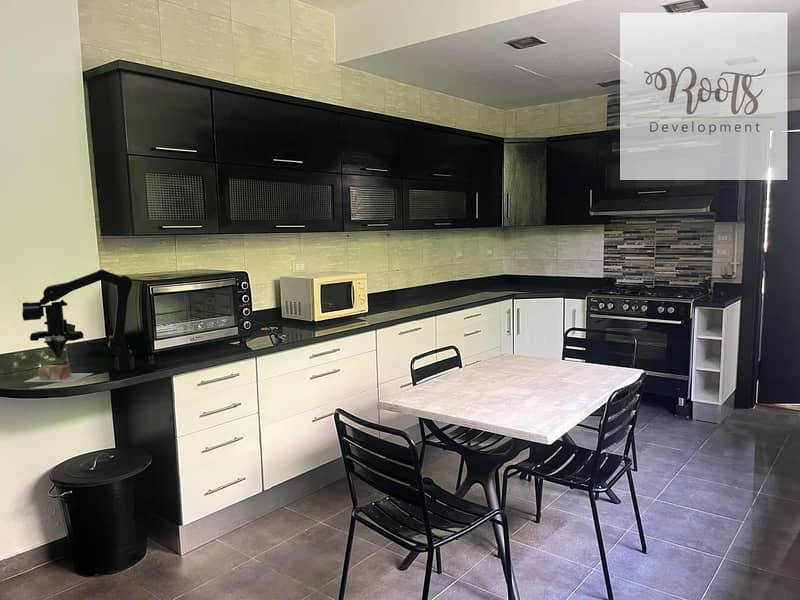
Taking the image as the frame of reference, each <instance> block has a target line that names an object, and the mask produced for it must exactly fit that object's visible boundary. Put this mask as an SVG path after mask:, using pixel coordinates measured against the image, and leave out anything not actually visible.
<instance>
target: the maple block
mask: <svg viewBox="0 0 800 600" xmlns="http://www.w3.org/2000/svg"><path fill="white" fill-rule="evenodd" d="M71 373H72V372H71V365H67V364H66V365H65V364H64V365H63V364H61V365H58V364H57V365H53V364H52V365H50V364H47V365H45V366H41V367H38V375H39V376H40V379H66V378H68V377H71Z"/></svg>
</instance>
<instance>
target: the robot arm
mask: <svg viewBox="0 0 800 600" xmlns="http://www.w3.org/2000/svg"><path fill="white" fill-rule="evenodd" d="M100 281H104V282H107V283H109V284H111V285H115V289H116V294H117V295H116V296H117V297H116V300H117V302H116V309H115V310H116V311H115V321H114V331H113V335H111V334H110V335H109V341H108V343H107V345H108V346H107V347H108V349H109V350H110V353H111V354H112V355H114V356H116V357H115V359H114V371H116V372H123V373H124V372H131V371H133V370H135V369H136V367H135V357H134V356H135V355H132V351H131V349H129V348H128V347H129V346H127V342H126V336H125V335H126V334H125V330H126V329H125V328H126V321H127V320H126V318H127V308H128V299H129V296H130V293H131V290H132V288H133V287H132V286H133V281H132V279H131V278H130V277H129V276H128V275H125V274H121V275H118V274H115V273H113V272H109V271H107V270H105V269H98V270H97V271H94V272H91V273H90V274H87V275H84V276H81V277H78V278H76V279H73V280H70V281H67V282H66V281H65V282H63V283H62V282H61V283H56V284H50V285H48V286H46V287H45V288H44V289H43V294H42V295H43V297H42V298H40V300H39V301H37V302H36V301H35V302H34V301H33V302H23V303H22V312H21V314H22V320H23V321H24V322H25V321H34V320H35V321H38V320H42V317H45V321H44V322H43V323H44V325H45V326H46V328H47V331H43V330H39V331H35V332H32V333H31V334H30V336H29V340H30V341H31V342H37V341H39V339H44V341H43V343H44V344H46V345H47V346H48V347H49V348H50V350H51V352H53V354H54V355H55V357H56V358H57V359H60V358H61V357H62V355H63V352H64V348H65V345H66V344H67V343H68V342H69V341H72V342H73V341H77V340H81V339H84V333H83V332H82V331H81V330H76V324H72V323H68V320H67V319H64V309H63V307H66V306H68V305H69V304H68V302H66V301H65V300H64V299H62V298H63V297H65V296H67V295H69V293H71V292H73V291H76V290H78V289H81V288H84V287H87V286H89V285H92V284H95V283H97V282H100ZM60 299H61V300H60ZM58 300H60V301H58ZM50 302H51V304H48V303H50ZM44 309H45V311H44Z"/></svg>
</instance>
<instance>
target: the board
mask: <svg viewBox="0 0 800 600" xmlns="http://www.w3.org/2000/svg"><path fill="white" fill-rule="evenodd" d="M93 374H94V373H93V372H92V373H91V372H90V373H89V372H87V373H84V372H83V373H81V372H76V373H75V372H74V373H73V372H71V377H68V378H66V379H40V376H35V377H32V378H30V379H28V380H24V381H23V383H73V382H76V381H78V380H81V379H83V378H86V377H88V376H90V375H93Z"/></svg>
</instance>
